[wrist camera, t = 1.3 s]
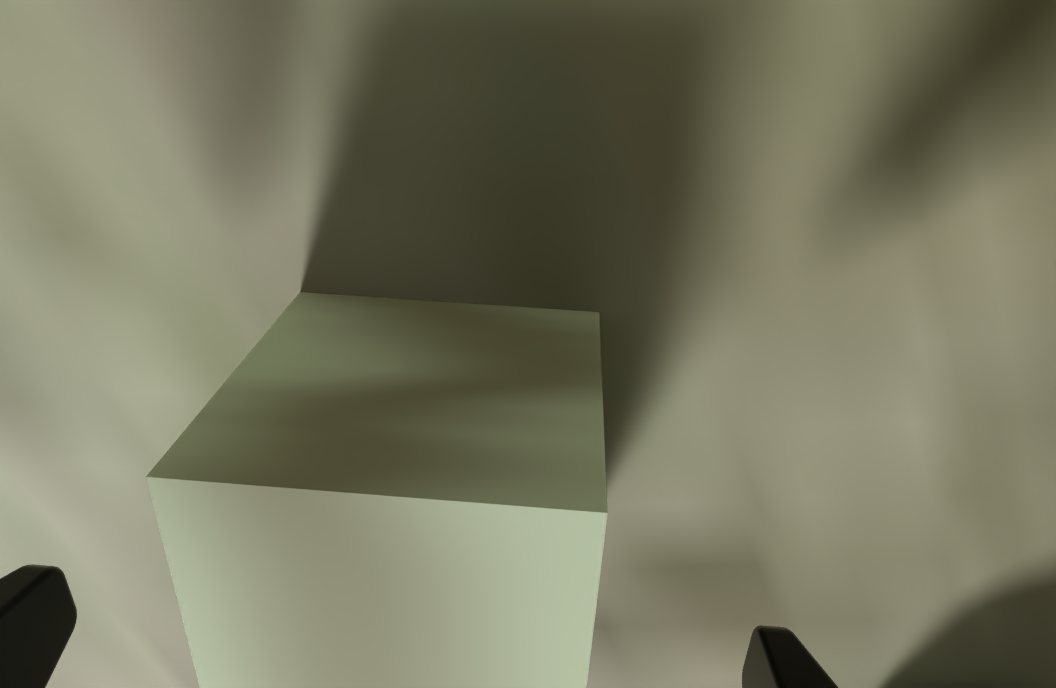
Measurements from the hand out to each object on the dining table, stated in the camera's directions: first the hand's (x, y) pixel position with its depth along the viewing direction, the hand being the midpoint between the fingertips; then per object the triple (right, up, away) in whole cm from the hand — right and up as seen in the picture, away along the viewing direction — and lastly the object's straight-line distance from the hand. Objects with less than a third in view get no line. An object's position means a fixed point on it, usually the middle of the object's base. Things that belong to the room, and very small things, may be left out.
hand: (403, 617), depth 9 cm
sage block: (0, +2, +4) cm, 5 cm away
